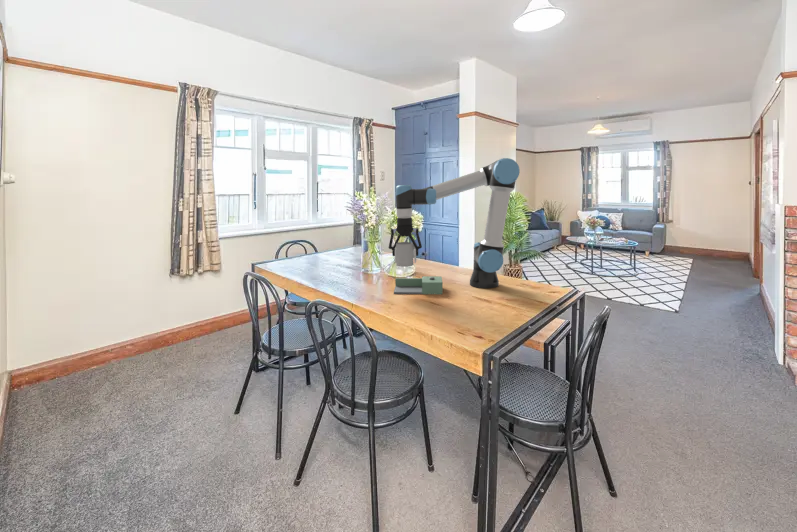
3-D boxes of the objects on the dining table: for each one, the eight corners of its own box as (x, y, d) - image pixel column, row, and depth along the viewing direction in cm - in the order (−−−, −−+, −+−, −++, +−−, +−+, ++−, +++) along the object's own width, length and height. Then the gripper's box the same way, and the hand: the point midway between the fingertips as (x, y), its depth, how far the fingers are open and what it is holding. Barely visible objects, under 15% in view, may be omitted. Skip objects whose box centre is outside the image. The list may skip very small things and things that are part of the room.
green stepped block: (441, 287, 204) (441, 274, 203) (442, 294, 192) (442, 280, 190) (395, 287, 206) (395, 274, 205) (393, 294, 193) (393, 280, 192)
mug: (405, 267, 189) (404, 245, 187) (392, 265, 195) (392, 243, 192) (421, 263, 197) (421, 242, 195) (409, 261, 203) (408, 240, 201)
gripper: (426, 216, 194) (427, 260, 199) (383, 217, 196) (384, 261, 200) (426, 217, 187) (427, 263, 191) (381, 218, 188) (383, 264, 193)
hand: (405, 262), depth 196 cm, fingers closed on mug, 9 cm apart
